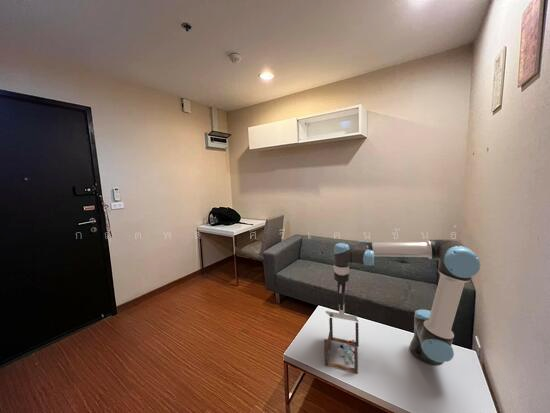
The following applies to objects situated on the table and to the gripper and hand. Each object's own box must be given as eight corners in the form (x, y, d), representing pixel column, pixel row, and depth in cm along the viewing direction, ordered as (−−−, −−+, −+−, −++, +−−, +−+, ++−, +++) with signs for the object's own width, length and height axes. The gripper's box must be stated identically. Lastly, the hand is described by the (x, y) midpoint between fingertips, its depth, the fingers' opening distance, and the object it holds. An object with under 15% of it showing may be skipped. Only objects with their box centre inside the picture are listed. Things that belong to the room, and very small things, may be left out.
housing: (358, 344, 127) (358, 322, 126) (357, 373, 108) (357, 348, 107) (330, 338, 133) (329, 317, 132) (324, 365, 114) (324, 341, 113)
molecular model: (364, 361, 111) (352, 341, 114) (347, 369, 112) (336, 350, 115) (360, 350, 122) (350, 333, 125) (345, 358, 123) (335, 341, 126)
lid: (358, 321, 127) (358, 320, 127) (357, 318, 109) (357, 316, 110) (329, 316, 133) (330, 315, 133) (324, 312, 115) (324, 310, 116)
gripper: (335, 267, 125) (336, 306, 128) (332, 276, 113) (332, 319, 116) (349, 268, 122) (349, 308, 125) (347, 278, 110) (348, 322, 113)
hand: (341, 314), depth 120 cm, fingers closed
